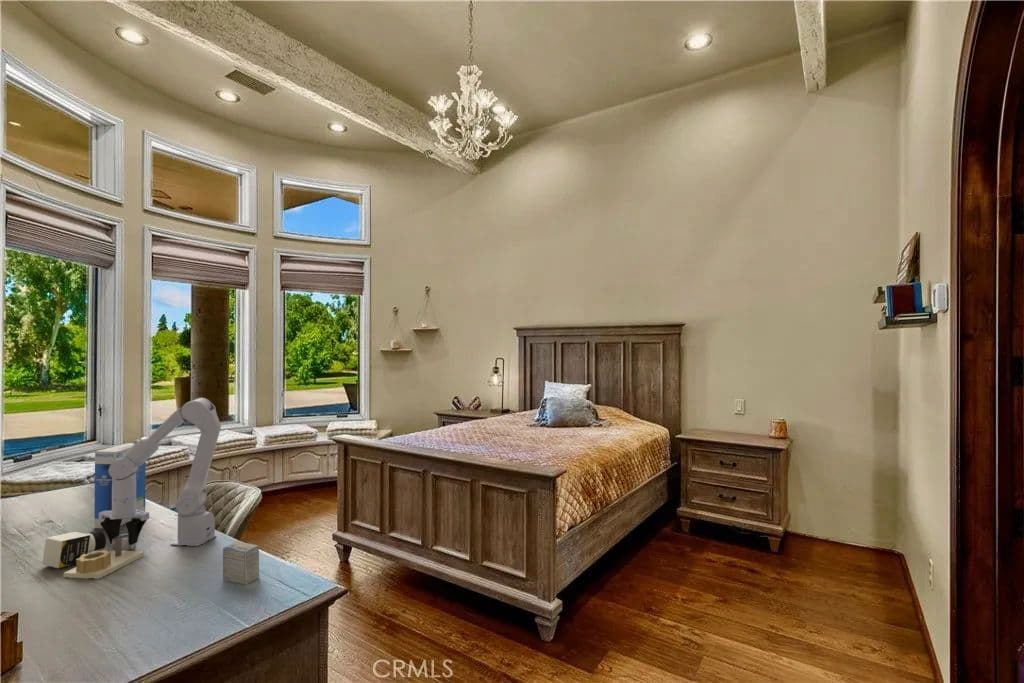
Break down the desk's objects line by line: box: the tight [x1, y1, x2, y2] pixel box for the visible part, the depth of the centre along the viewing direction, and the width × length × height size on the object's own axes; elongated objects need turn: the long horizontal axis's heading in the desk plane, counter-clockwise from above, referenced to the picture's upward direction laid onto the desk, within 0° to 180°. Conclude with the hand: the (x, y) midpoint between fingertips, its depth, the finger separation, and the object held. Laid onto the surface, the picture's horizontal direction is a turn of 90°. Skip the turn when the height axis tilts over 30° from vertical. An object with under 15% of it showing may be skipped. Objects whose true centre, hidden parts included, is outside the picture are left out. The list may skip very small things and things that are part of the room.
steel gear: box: [111, 533, 137, 551], centre depth 145 cm, size 6×6×4 cm
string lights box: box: [93, 442, 146, 529], centre depth 167 cm, size 13×8×26 cm, turn 178°
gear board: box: [63, 539, 145, 580], centre depth 134 cm, size 10×14×6 cm
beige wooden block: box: [222, 541, 260, 586], centre depth 126 cm, size 8×4×9 cm, turn 71°
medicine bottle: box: [41, 530, 107, 569], centre depth 137 cm, size 7×7×12 cm
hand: (123, 543), depth 145 cm, fingers closed on steel gear, 5 cm apart
